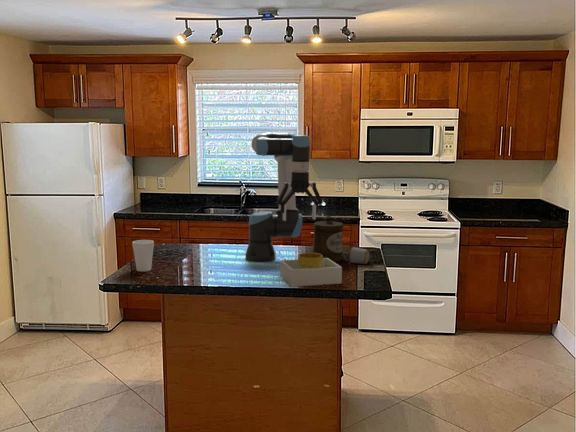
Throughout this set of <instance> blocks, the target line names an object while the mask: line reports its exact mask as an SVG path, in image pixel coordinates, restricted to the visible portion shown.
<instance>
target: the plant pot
mask: <svg viewBox="0 0 576 432" xmlns="http://www.w3.org/2000/svg"><path fill="white" fill-rule="evenodd" d="M297 256H298V257H297V258H298V261H299V263H300V266H301V269H308V268H320V266H321V264H322V261H323V256H322V255H321V254H318V253H313V252H304V253H303V252H302V253H299V254H298V255H297Z"/></svg>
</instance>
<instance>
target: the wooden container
mask: <svg viewBox="0 0 576 432" xmlns="http://www.w3.org/2000/svg"><path fill="white" fill-rule="evenodd" d="M324 219H325V220H322V221H316V222H314V223H313V238H312V241H313V242H312V253H318V254H321V255H322V256H323V258H328V259H330V260H332V261H333V262H335V263H336V262H340V261H342V260H343V246H344V245H343V239H344V238H343V236H344V235H343V234H344V233H343V231H344V223H343V222H339V221H333V220H332V219H333V218H332V216H330V215H326V216H325V217H324Z"/></svg>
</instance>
